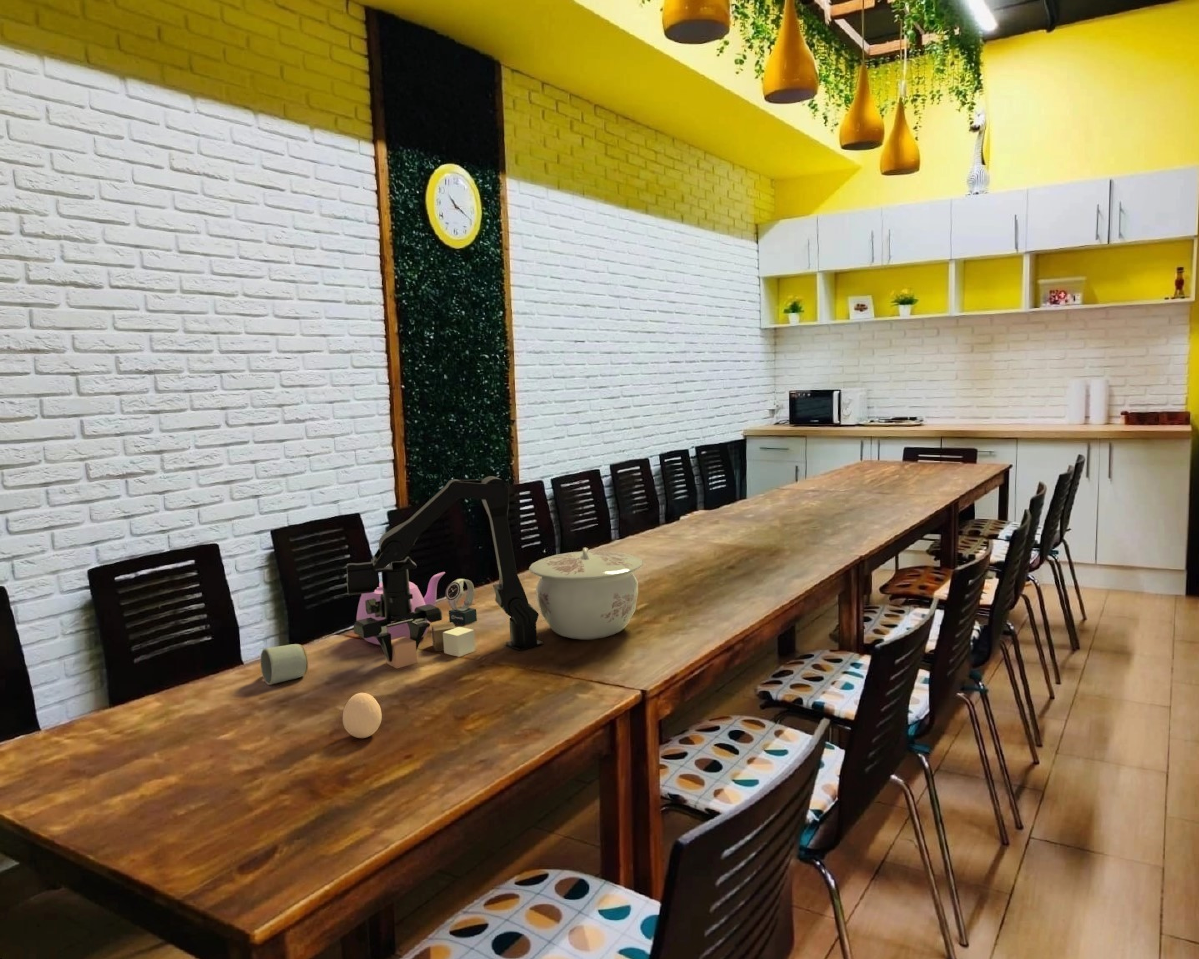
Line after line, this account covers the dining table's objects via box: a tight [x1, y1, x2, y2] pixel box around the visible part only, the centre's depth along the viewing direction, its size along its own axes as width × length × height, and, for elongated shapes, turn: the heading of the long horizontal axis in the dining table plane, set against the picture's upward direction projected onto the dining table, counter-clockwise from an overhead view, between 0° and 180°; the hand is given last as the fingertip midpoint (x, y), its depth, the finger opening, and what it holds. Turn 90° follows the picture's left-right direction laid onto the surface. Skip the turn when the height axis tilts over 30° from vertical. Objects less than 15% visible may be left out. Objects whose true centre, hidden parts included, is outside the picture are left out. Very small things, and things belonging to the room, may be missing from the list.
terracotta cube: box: [385, 637, 418, 669], centre depth 191 cm, size 5×5×5 cm
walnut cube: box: [430, 622, 457, 652], centre depth 201 cm, size 5×5×5 cm
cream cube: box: [443, 626, 476, 658], centre depth 197 cm, size 5×5×5 cm
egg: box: [342, 692, 383, 739], centre depth 152 cm, size 7×7×8 cm
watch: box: [445, 578, 478, 626], centre depth 221 cm, size 6×8×11 cm
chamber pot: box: [528, 547, 644, 641], centre depth 207 cm, size 28×28×21 cm
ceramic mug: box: [260, 643, 309, 686], centre depth 185 cm, size 11×8×8 cm
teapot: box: [356, 571, 446, 646], centre depth 210 cm, size 23×21×15 cm
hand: (401, 658), depth 191 cm, fingers open, 5 cm apart
